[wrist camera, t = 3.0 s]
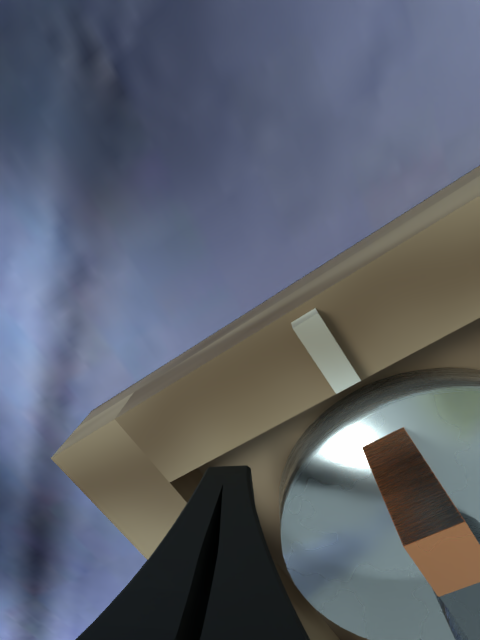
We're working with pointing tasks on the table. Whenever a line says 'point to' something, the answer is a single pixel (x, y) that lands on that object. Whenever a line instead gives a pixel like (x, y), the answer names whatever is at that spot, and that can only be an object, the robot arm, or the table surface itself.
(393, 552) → the dial
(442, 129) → the table surface
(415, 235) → the board
